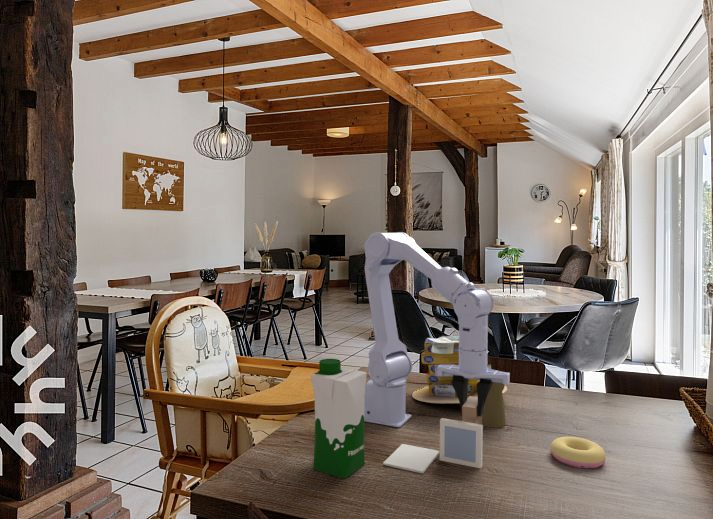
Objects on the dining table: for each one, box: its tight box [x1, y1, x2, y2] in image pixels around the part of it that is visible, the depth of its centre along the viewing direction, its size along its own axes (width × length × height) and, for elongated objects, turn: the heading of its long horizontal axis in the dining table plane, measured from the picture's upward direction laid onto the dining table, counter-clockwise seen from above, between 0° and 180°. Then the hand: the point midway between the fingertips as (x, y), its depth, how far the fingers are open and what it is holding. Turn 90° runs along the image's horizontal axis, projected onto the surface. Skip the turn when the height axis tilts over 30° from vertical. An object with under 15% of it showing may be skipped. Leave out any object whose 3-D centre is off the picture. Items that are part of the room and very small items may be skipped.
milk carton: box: [310, 358, 368, 480], centre depth 99 cm, size 9×9×20 cm
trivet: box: [382, 443, 440, 474], centre depth 103 cm, size 8×10×1 cm
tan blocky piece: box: [461, 396, 482, 425], centre depth 107 cm, size 10×5×6 cm, turn 154°
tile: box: [439, 417, 484, 469], centre depth 101 cm, size 8×1×8 cm, turn 64°
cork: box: [481, 382, 507, 429], centre depth 122 cm, size 6×6×11 cm
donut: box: [550, 436, 607, 469], centre depth 103 cm, size 10×5×9 cm
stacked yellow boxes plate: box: [411, 334, 508, 404], centre depth 140 cm, size 25×25×17 cm
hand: (472, 413), depth 109 cm, fingers closed on tan blocky piece, 3 cm apart
